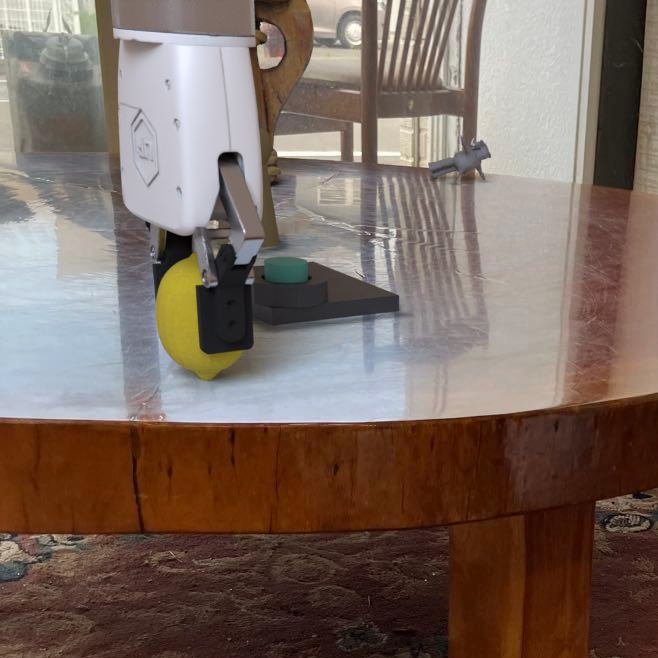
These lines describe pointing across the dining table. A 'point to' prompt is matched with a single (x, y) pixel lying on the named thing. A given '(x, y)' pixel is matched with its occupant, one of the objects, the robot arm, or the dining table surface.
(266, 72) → the tankard
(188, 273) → the lemon
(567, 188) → the dining table surface
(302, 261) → the button
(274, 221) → the cork
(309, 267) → the dark button base
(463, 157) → the grey branched piece
